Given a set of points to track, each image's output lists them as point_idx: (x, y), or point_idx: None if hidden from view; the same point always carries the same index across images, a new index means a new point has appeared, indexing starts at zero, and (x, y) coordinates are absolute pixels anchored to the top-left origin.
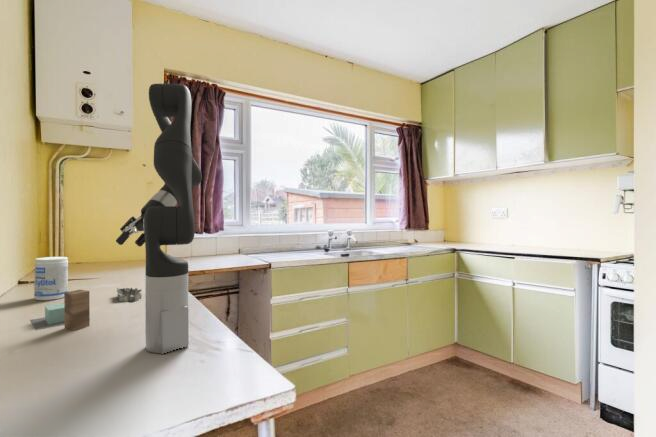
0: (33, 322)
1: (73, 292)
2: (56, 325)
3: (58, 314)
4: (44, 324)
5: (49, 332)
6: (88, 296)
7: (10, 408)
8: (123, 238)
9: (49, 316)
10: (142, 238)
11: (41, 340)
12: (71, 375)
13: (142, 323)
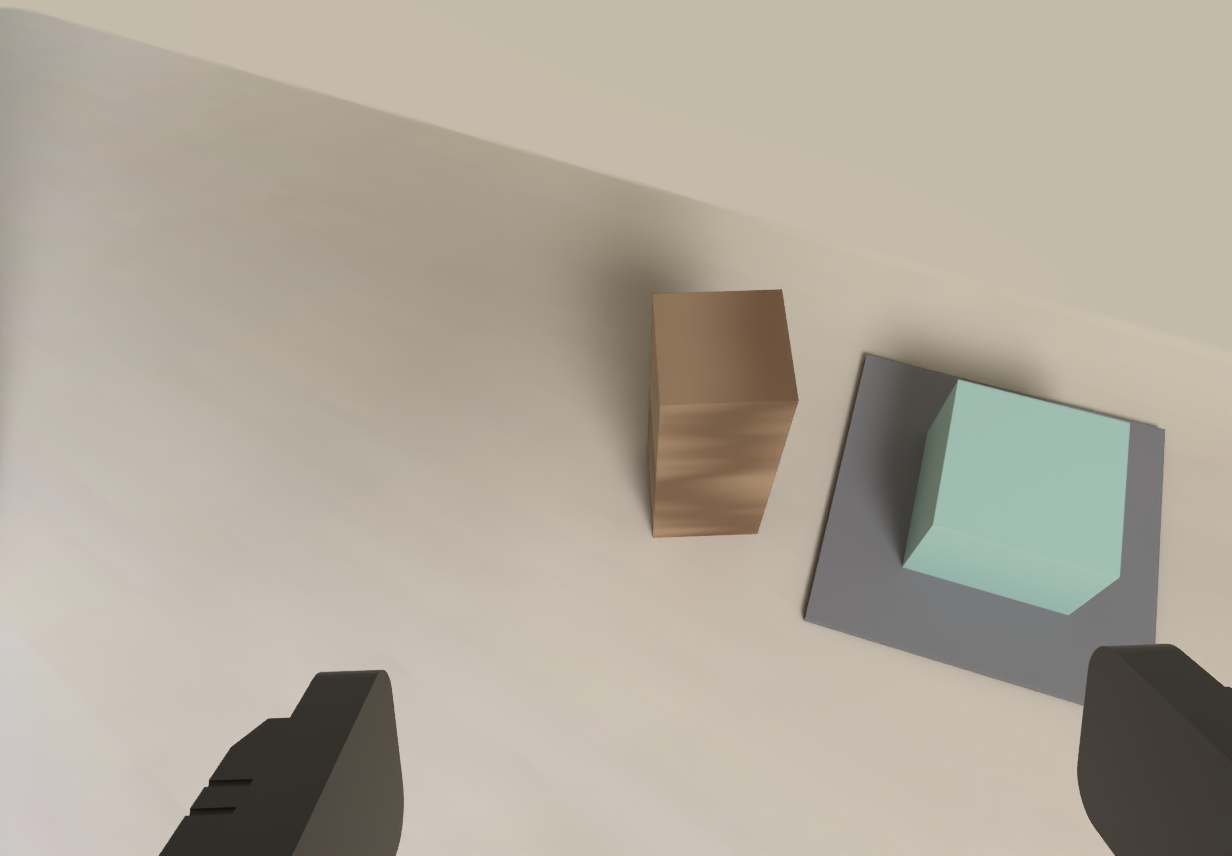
0: None
1: (720, 320)
2: (860, 444)
3: (935, 450)
4: None
5: None
6: (658, 423)
7: (101, 39)
8: (1183, 837)
9: (944, 408)
10: (197, 801)
11: None
12: (110, 186)
13: None
